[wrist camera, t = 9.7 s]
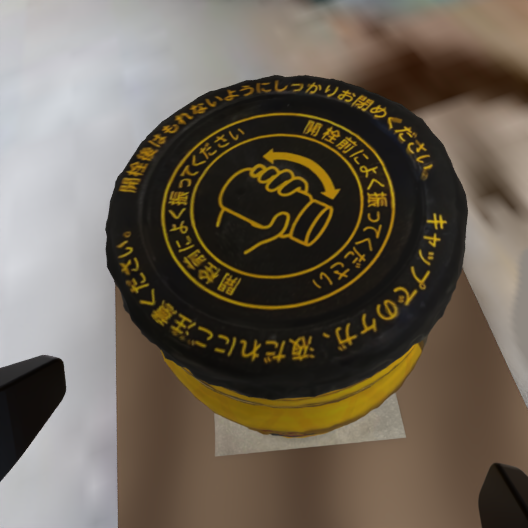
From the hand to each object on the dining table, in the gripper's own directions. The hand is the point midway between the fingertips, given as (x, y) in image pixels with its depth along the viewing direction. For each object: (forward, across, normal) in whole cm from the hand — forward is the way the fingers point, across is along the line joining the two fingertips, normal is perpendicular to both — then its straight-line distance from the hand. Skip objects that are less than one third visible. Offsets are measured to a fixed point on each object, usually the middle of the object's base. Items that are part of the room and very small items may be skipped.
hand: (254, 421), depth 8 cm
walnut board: (+9, 0, +4) cm, 10 cm away
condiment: (+8, 0, +3) cm, 9 cm away
